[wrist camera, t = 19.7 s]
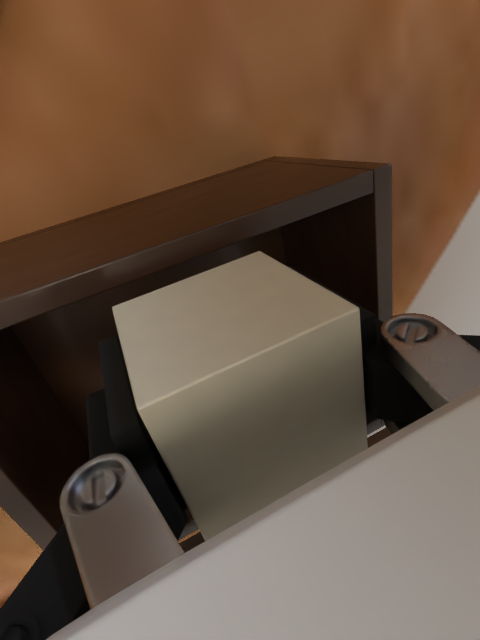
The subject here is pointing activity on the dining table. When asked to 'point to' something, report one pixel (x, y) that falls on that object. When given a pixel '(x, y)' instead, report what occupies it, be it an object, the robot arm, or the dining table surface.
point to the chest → (152, 274)
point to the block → (245, 384)
